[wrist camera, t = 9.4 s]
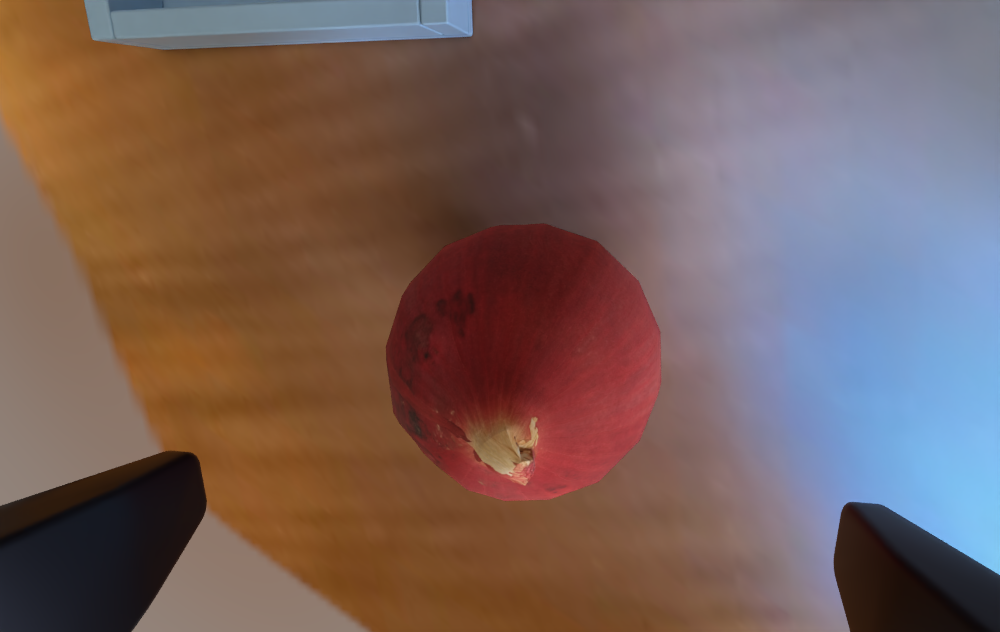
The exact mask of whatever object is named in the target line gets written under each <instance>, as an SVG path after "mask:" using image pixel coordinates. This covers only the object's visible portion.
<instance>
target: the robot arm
mask: <svg viewBox="0 0 1000 632" xmlns="http://www.w3.org/2000/svg"><path fill="white" fill-rule="evenodd" d="M206 504H207V500H206V494H205V489H204V483H203V478H202V473H201V467H200V462H199V460H198V458H197V456H196V455H194V454H193V453H190V452H180V451H165V452H162V453H159V454H156V455H153V456H150V457H147V458H144V459H141V460H138V461H135V462H132V463H129V464H126V465H123V466H120V467H117V468H114V469H111V470H108V471H105V472H102V473H99V474H96V475H93V476H90V477H87V478H83V479H80V480H78V481H74V482H72V483H68V484H65V485H62V486H59V487H56V488H53V489H50V490H48V491H44V492H41V493H38V494H35V495H32V496H29V497H26V498H23V499H20V500H17V501H14V502H11V503H8V504H5V505H2V506H0V632H131V631H132V630H133V629H134V628H135V626H136V625H137V623H138V622H139V621H140V619H141V618H142V616H143V615H144V613H145V612H146V610H147V609H148V608H149V606H150V605H151V603H152V601H153V600H154V598H155V597H156V595H157V594H158V592H159V590H160V589H161V587H162V585H163V584H164V582H165V580H166V579H167V577H168V575H169V574H170V572H171V570H172V568H173V567H174V565H175V564H176V562H177V560H178V559H179V557H180V555H181V554H182V552H183V550H184V548H185V547H186V545H187V544H188V542H189V540H190V539H191V537H192V535H193V534H194V532H195V530H196V529H197V527H198V525H199V524H200V522H201V520H202V519H203V516H204V514H205V511H206ZM834 572H835V577H836V581H837V585H838V588H839V592H840V596H841V599H842V603H843V606H844V610H845V614H846V617H847V621H848V624H849V628H850V632H1000V575H999V574H997V573H995V572H994V571H992V570H990V569H989V568H987V567H985V566H984V565H982V564H980V563H979V562H977V561H975V560H974V559H972V558H970V557H969V556H967V555H965V554H964V553H962V552H960V551H959V550H957V549H955V548H954V547H952V546H950V545H949V544H947V543H945V542H944V541H942V540H940V539H939V538H937V537H935V536H934V535H932V534H930V533H929V532H927V531H925V530H923V529H922V528H920V527H918V526H917V525H915V524H913V523H912V522H910V521H908V520H907V519H905V518H903V517H902V516H900V515H898V514H897V513H895V512H893V511H892V510H890V509H888V508H887V507H885V506H883V505H880V504H873V503H859V502H849V503H847V504H846V505H845V506H844V507H843V509H842V512H841V517H840V523H839V529H838V535H837V541H836V547H835V553H834Z"/></svg>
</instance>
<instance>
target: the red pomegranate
mask: <svg viewBox="0 0 1000 632" xmlns="http://www.w3.org/2000/svg"><path fill="white" fill-rule="evenodd" d="M386 361H387V368H388V376H389V383H390V390H391V397H392V405H393V412H394V414H395V416H396V418H397V420H398V422H399V423H400V425H401V426H402V427H403V428H404V429H405V430H406V432H407V433H408V434H409V435H410V436H411V437H412V439H413V440H414V441H415V442H416V443H417V445H418V446H419V448H420V449H421V450H422V452H423V453H424V454H425V455H426V456H427V457H428V458H429V459H430V460H431V461H432V462H434V463H435V464H436V465H437V466H438V467H439V468H441V469H442V470H443V471H444V472H446V473H447V474H448V475H449V476H451V477H452V478H453V479H454V480H456V481H457V482H458V483H459V484H461V485H462V486H463V487H465V488H466V489H467V490H470V491H473V492H477V493H480V494H484V495H487V496H490V497H494V498H497V499H501V500H504V501H512V500H549V499H552V498H555V497H557V496H560V495H563V494H566V493H569V492H572V491H575V490H577V489H580V488H583V487H586V486H589V485H591V484H594V483H597V482H599V481H600V480H601V479H602V478H603V477H604V476H605V475H606V474H607V473H608V472H609V471H610V470H611V469H612V468H613V467H614V466H615V465H616V464H617V463H618V462H619V461H620V460H621V459H622V458H623V457H624V456H625V455H626V454H627V453H628V452H629V451H630V450H631V449H632V448H633V447H634V446H635V445H636V444H637V443H638V442H639V441H640V438H641V436H642V433H643V431H644V428H645V426H646V423H647V421H648V418H649V416H650V413H651V411H652V408H653V406H654V403H655V401H656V399H657V396H658V392H659V389H660V385H661V339H660V330H659V327H658V325H657V323H656V320H655V318H654V316H653V313H652V311H651V309H650V306H649V304H648V302H647V299H646V297H645V295H644V293H643V290H642V288H641V286H640V283H639V281H638V280H637V279H636V278H635V277H634V276H633V275H632V274H631V273H630V272H629V271H628V270H626V269H625V268H624V267H623V266H622V265H621V264H620V263H619V262H618V261H617V260H616V259H615V258H614V257H613V256H612V255H611V254H610V253H609V252H608V251H607V250H606V249H605V248H604V247H603V246H602V245H601V244H599V243H598V242H597V241H595V240H592V239H589V238H586V237H583V236H580V235H577V234H574V233H571V232H568V231H565V230H562V229H559V228H556V227H553V226H551V225H548V224H544V223H543V224H528V225H499V226H494V227H490V228H488V229H485V230H483V231H480V232H478V233H475V234H473V235H471V236H468V237H466V238H463V239H461V240H458V241H456V242H454V243H451V244H449V245H446V246H444V247H443V249H442V250H441V251H440V252H439V253H438V254H437V255H436V256H435V257H434V258H433V259H432V260H431V261H430V262H429V263H428V264H427V266H426V267H425V268H424V269H423V270H422V271H421V272H420V273H419V274H418V275H417V276H416V277H415V278H414V279H413V280H412V281H411V283H410V284H409V286H408V287H407V289H406V290H405V292H404V294H403V295H402V298H401V301H400V304H399V307H398V310H397V313H396V317H395V320H394V323H393V326H392V329H391V332H390V335H389V338H388V342H387V345H386Z"/></svg>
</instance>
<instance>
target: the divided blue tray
mask: <svg viewBox="0 0 1000 632" xmlns="http://www.w3.org/2000/svg"><path fill="white" fill-rule="evenodd" d="M84 3H85V8H86V13H87V18H88V23H89V28H90V33H91V37H92V39H93V40H95V41H102V42H109V43H117V44H124V45H132V46H140V47H147V48H154V49H162V50H170V49H193V48H217V47H240V46H263V45H287V44H310V43H334V42H357V41H381V40H404V39H427V38H451V37H471V36H472V34H473V27H472V0H84Z"/></svg>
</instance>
